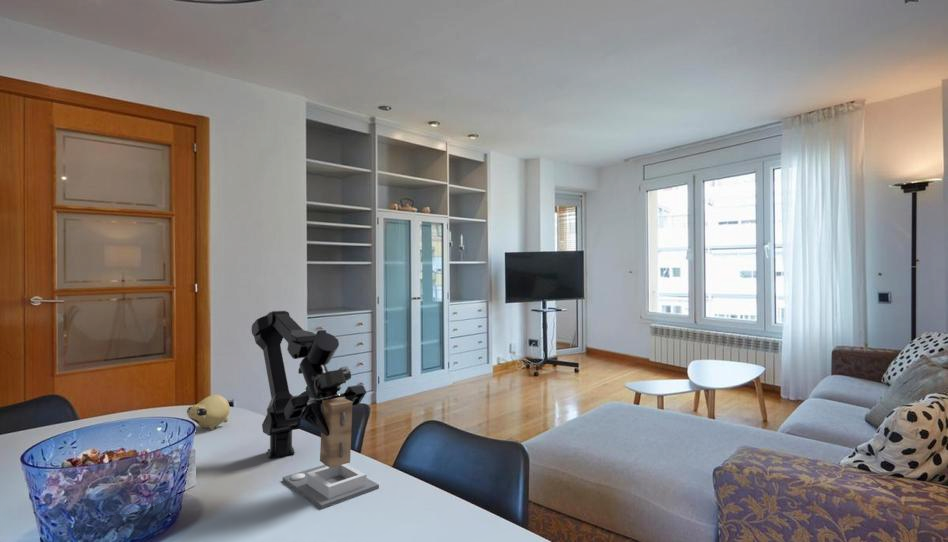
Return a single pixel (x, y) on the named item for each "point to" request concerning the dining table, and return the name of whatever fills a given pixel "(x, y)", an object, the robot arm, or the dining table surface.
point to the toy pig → (210, 411)
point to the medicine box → (191, 471)
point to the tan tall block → (336, 432)
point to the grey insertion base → (330, 484)
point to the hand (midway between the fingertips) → (339, 432)
